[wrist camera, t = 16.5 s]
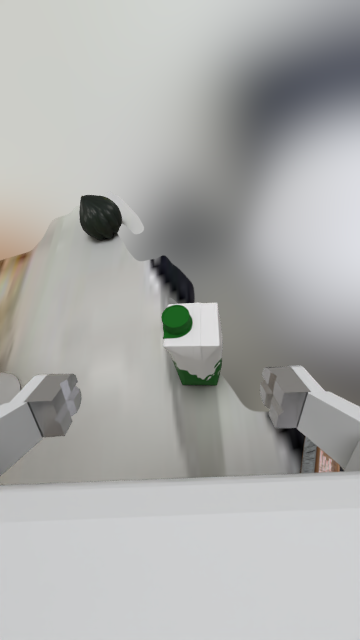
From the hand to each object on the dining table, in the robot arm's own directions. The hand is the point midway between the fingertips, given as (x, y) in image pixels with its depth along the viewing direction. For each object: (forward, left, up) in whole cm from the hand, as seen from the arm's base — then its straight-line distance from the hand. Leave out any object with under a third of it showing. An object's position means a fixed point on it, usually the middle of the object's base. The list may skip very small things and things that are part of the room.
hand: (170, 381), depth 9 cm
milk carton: (+8, +12, -35) cm, 38 cm away
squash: (+15, +77, -35) cm, 86 cm away
